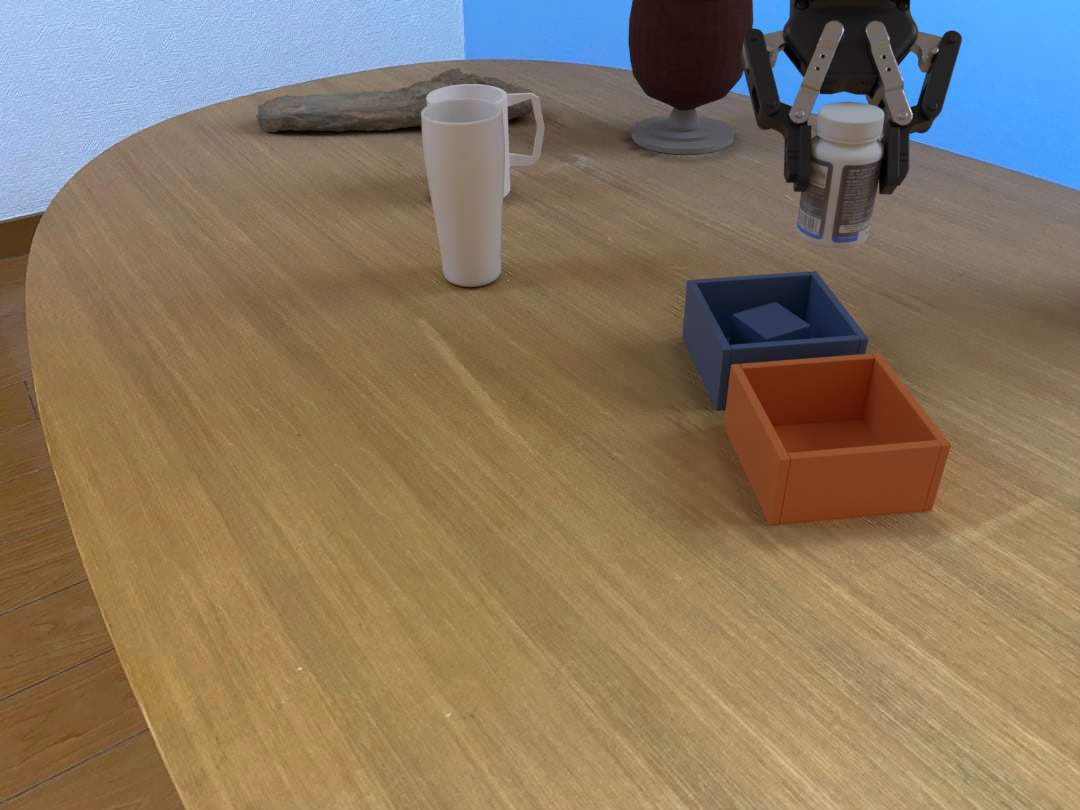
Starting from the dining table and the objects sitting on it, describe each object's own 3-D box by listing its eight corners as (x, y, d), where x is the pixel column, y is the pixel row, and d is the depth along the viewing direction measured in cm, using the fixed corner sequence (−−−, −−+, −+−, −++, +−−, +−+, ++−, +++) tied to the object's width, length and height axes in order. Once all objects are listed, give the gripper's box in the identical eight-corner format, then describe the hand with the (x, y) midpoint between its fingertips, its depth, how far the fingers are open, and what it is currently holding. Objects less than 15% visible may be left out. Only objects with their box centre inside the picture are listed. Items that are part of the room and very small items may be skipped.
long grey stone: (268, 124, 124) (258, 155, 116) (258, 84, 120) (246, 113, 113) (532, 97, 125) (539, 126, 117) (529, 57, 121) (536, 84, 114)
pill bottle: (870, 224, 64) (894, 102, 60) (864, 254, 61) (889, 127, 56) (800, 216, 66) (817, 96, 61) (790, 244, 62) (808, 119, 57)
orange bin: (864, 420, 66) (879, 352, 63) (930, 517, 57) (951, 444, 54) (722, 432, 65) (730, 363, 62) (768, 532, 57) (780, 459, 53)
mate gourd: (666, 165, 106) (678, -27, 94) (603, 129, 116) (607, -48, 104) (775, 141, 112) (799, -43, 100) (706, 109, 122) (721, -61, 110)
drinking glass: (424, 289, 83) (407, 121, 74) (448, 256, 88) (435, 95, 79) (498, 297, 81) (489, 126, 73) (518, 262, 87) (512, 99, 78)
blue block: (769, 346, 73) (775, 301, 70) (803, 371, 70) (811, 325, 68) (726, 359, 71) (732, 313, 69) (759, 385, 68) (766, 338, 66)
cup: (548, 201, 98) (547, 105, 92) (433, 206, 98) (425, 110, 92) (542, 172, 105) (541, 81, 99) (434, 177, 104) (427, 85, 98)
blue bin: (805, 333, 76) (816, 270, 72) (854, 405, 67) (869, 338, 64) (681, 342, 75) (686, 279, 71) (715, 416, 66) (723, 349, 63)
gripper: (746, -93, 59) (736, 161, 56) (983, -95, 58) (985, 167, 55) (734, -21, 67) (725, 207, 64) (943, -20, 65) (943, 214, 62)
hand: (845, 187), depth 59 cm, fingers closed on pill bottle, 4 cm apart
